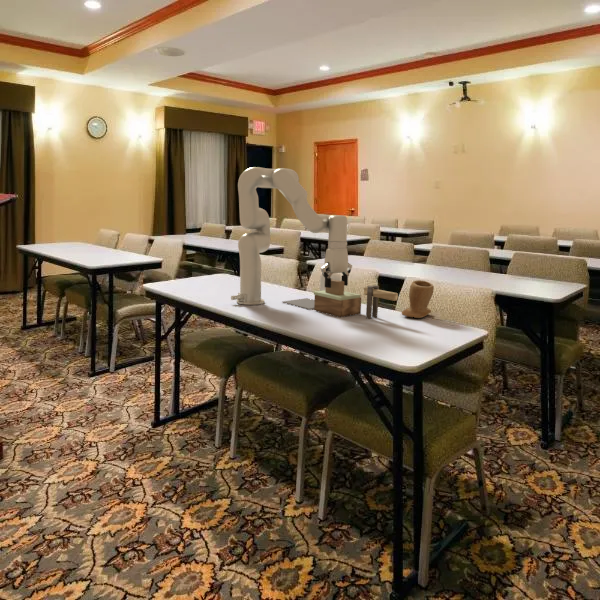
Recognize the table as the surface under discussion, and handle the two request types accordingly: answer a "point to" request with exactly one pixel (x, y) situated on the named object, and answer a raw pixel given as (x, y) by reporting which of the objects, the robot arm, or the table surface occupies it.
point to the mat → (302, 303)
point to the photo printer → (322, 280)
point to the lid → (337, 291)
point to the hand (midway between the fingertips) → (336, 286)
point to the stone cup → (419, 299)
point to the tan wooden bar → (383, 294)
